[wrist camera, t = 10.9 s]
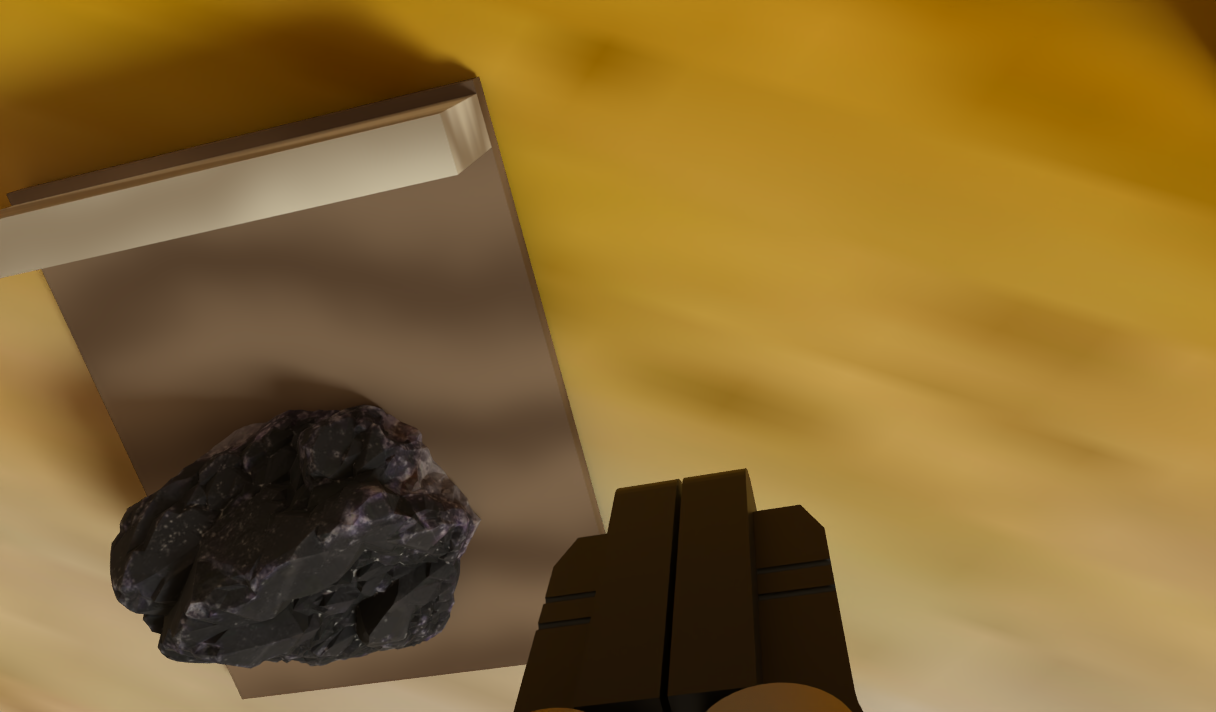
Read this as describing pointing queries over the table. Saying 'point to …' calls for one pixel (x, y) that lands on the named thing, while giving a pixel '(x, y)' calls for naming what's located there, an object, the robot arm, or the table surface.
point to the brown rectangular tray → (333, 331)
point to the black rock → (297, 543)
